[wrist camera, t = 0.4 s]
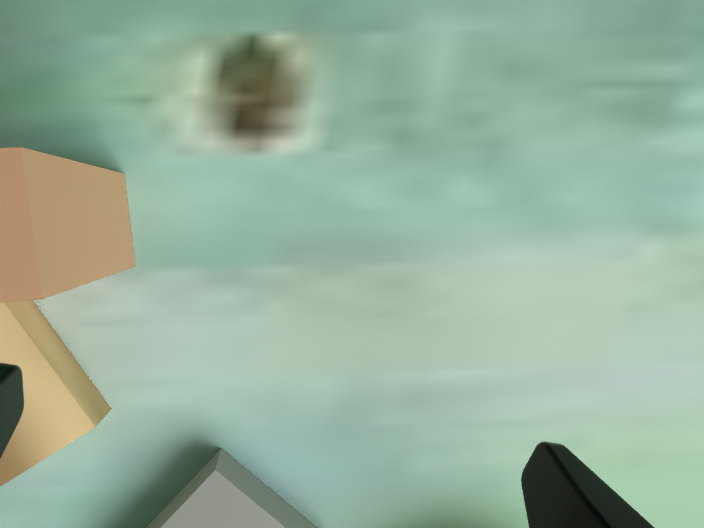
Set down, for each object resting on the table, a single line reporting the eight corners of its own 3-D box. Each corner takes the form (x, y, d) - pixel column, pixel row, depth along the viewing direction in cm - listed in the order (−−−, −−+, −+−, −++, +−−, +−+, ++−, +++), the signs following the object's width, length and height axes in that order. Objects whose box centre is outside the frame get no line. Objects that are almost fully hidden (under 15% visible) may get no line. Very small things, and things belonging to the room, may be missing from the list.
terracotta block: (135, 266, 23) (41, 299, 14) (38, 274, 22) (-123, 314, 13) (124, 173, 22) (20, 146, 14) (24, 179, 22) (-150, 157, 13)
